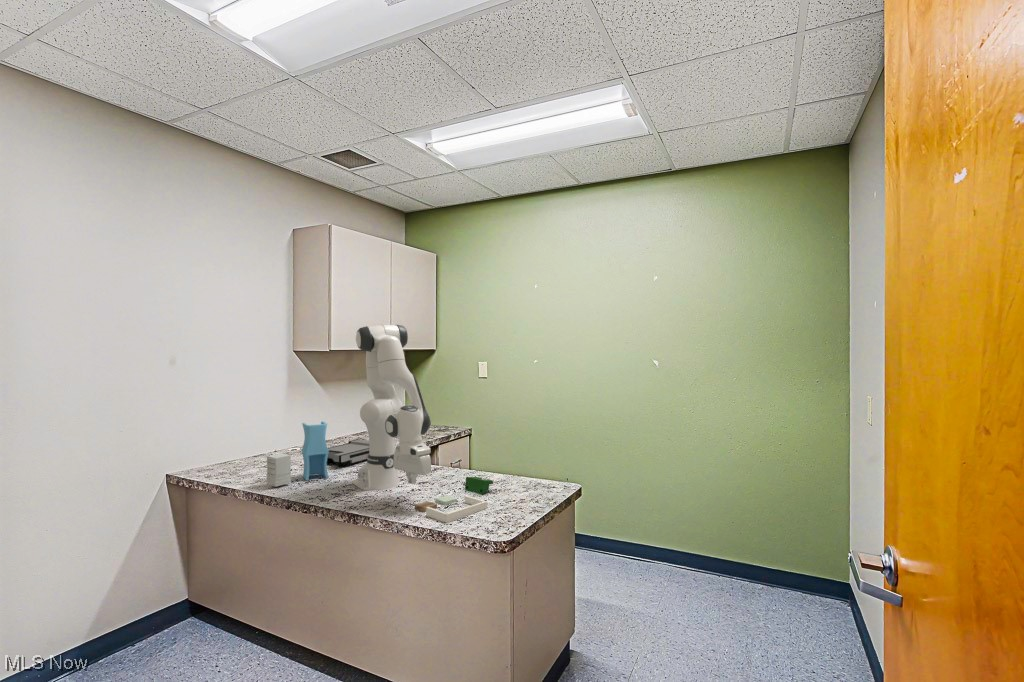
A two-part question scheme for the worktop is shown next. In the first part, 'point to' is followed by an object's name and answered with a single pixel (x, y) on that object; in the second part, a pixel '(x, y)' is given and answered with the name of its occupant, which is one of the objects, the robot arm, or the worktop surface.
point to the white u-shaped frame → (451, 516)
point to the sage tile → (446, 500)
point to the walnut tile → (423, 506)
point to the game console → (349, 453)
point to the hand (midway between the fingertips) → (412, 483)
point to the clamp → (477, 485)
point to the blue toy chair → (315, 450)
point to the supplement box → (278, 469)
